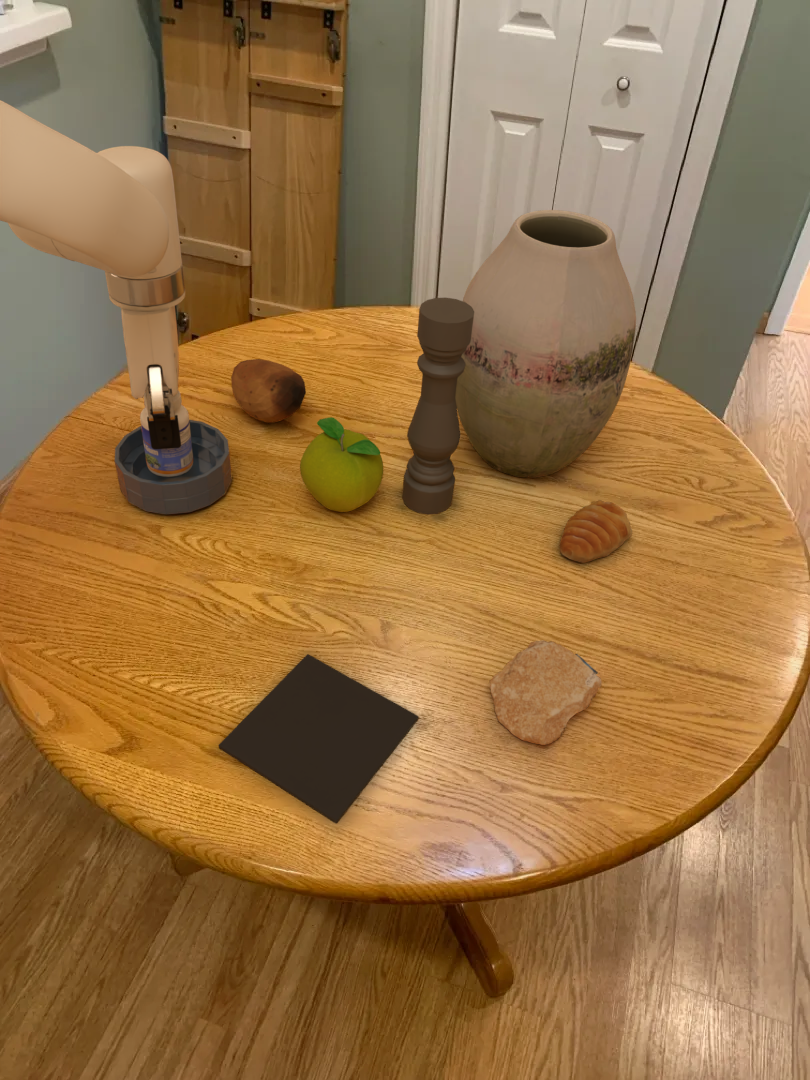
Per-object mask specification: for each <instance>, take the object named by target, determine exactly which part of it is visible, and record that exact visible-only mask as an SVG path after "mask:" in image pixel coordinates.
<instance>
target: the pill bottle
mask: <svg viewBox="0 0 810 1080" xmlns="http://www.w3.org/2000/svg"><path fill="white" fill-rule="evenodd" d="M149 390H150V391H151V388H150V389H149ZM163 391H168V387H167V386H164V387H163ZM143 401H144V404H143V405H144V407H143V408H142V410H141V412H140V414H139V420H140V422H139V423H140V426H141V429H142V436H143V442H144V449H145V456H146V462H147V466H148V469H149V470H150V471H151V472H152V473H154V474H156V475H158V476H163V477H174V476H179V475H182V474H184V473H186V472H188V471H189V470H190V469H191V467H192V465H193V453H192V443H191V433H190V422H189V420H190V414H189V411H188V408H186V407H185V406H184V405H183V404H182V403H183V400H182V396H181V392H180V390H179V389H178V393H177V395H176V396H174V397H173V402H174V411H175V415H178V423H179V431H180V439H181V447H179V448H169V449H153V448H152V447H151V441H150V434H149V427H148V421H147V417H148V408H147V400H146V392H145V394H144V397H143ZM164 402H165V405H168V398H164ZM168 408H169V405H168Z"/></svg>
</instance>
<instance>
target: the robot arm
mask: <svg viewBox="0 0 810 1080" xmlns="http://www.w3.org/2000/svg"><path fill="white" fill-rule="evenodd" d="M175 191H176V190H175V182H174V174H173V168H172V165H171V163H170V161H169V160H168V158H167V157H166V156H165V155H164V154H163V153H161V152H159V151H157V150H155V149H153V148H148V147H143V146H137V145H121V146H114V147H109V148H105V149H103V150H100V151H98V152H96V151H94V150H92V149H91V148H89V147H87V146H85V145H83V144H81V143H80V142H79V141H76V140H74V139H72V138H70V137H68V136H67V135H65V134H63V133H61V132H59V131H57V130H55V129H53V128H51V127H49V126H47V125H46V124H44V123H42V122H40V121H39V120H37V119H35V118H33V117H31V116H29V115H28V114H26V113H25V112H23V111H21V110H19V109H18V108H16V107H14V106H13V105H11V104H9V103H7V102H5V101H3V100H1V99H0V222H4V223H7V224H8V227H9V228H10V229H11V231H12V233H13V234H14V235H15V236H16V237H17V238H18V239H19V240H20V241H21V242H23V243H24V244H26V245H27V246H29V247H31V248H32V249H35V250H37V251H40V252H43V253H45V254H49V255H51V256H55V257H59V258H62V259H65V260H68V261H71V262H76V263H80V264H83V265H86V266H88V267H92V268H96V269H99V270H102V271H104V274H105V281H106V286H107V292H108V297H109V301H110V302H111V303H112V305H114V306H116V307H118V308H120V314H121V315H120V316H121V324H122V334H123V342H124V346H125V347H124V348H125V356H126V363H127V364H126V365H127V371H128V379H129V385H130V395H131V397H132V398H133V399H135V400H138V399H144V394H145V392H146V400H147V408H148V417H147V421H148V427H149V434H150V441H151V447H152V448H153V449H169V448H179V447H181V439H180V431H179V423H178V415H175V411H174V402H173V397H174V396H176V395H177V393H178V390H179V377H180V376H179V375H180V374H179V373H180V371H179V370H180V369H179V367H180V366H179V365H180V364H179V363H180V358H179V357H180V355H179V354H180V352H179V335H178V325H177V324H178V323H177V315H176V314H177V313H176V306H177V305H179V304H180V303H182V302H183V300H184V299H185V298H186V287H185V278H184V276H185V275H184V268H183V259H182V251H181V250H182V249H181V241H180V240H181V239H180V229H179V220H178V210H177V200H176V192H175ZM164 386H167V387H168V391H163V387H164ZM150 388H151V391H150V390H149V389H150ZM164 398H168V405H169V408H168V405H165V402H164Z"/></svg>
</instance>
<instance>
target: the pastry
mask: <svg viewBox="0 0 810 1080" xmlns="http://www.w3.org/2000/svg"><path fill="white" fill-rule="evenodd" d="M632 535H633V529H632V527H631V521H630V520H629V518H628V514H627V513H626V511H625V509H623V508H621V506H619V505H618V504H616V503H614V502H612V501H606V500H605V501H604V500H603V499H602V500H601V499H598V500H594V501H591V503H590V504H588V505H586V506H584V507H582V508H579V509H578V510H576V511H575V512H574V514H573V515H572V516H571V517H570V518H569V519H568V520H567V522H566V524H565V526H564V528H563V531H562V535H561V538H560V540H559V551H560V554H561V555H562V556H564V557H566V558H568V559H569V560H572V561H574V562H578V563H585V564H586V563H589V562H593V561H595V560H596V559H603V558H606V557H608V556H609V555H610V554H612V553H613V552H615V551H616V550H617V549H619V547H621V546H622V545H623V544H624V543H625V541H627V540H628V539H630V537H632Z"/></svg>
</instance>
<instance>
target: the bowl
mask: <svg viewBox="0 0 810 1080" xmlns="http://www.w3.org/2000/svg"><path fill="white" fill-rule="evenodd" d="M189 422H190V433H191V443H192V453H193V465H192V467H191V469H190V470H189V471H188V472H186V473H184V474H182V475H179V476H174V477H163V476H158V475H156V474H154V473H152V472H151V471H150V470H149V469H148V466H147V462H146V456H145V449H144V442H143V436H142V429H141V425H140V426H138V427H136V428H134V429H132V430H131V431H130V432H128V433H126V434H125V435H123V437H122V438H121V440H120V441H119V442H118V444H117V445H116V446H115V447H114V465H115V471H116V475H117V479H118V484H119V489H120V491H121V493H122V495H123V496H124V498H125V499H126V500H127V501H128V503H130V504H131V505H133V506H135V507H137V508H139V509H141V510H142V511H145V512H148V513H154V514H160V515H161V514H162V515H175V514H176V515H177V514H186V513H192V512H196V511H198V510H201V509H203V508H206V507H209V506H211V505H212V504H214V503H215V502H216V501H218V500H219V499H220V498H222V497H224V496H225V494H226V493H227V491H228V489H229V487H230V485H231V483H233V479H232V468H231V457H230V447H229V439H228V437H226V436H225V435H224V434H223V433H222V431H221V430H220V429H219V428H218V427H215V426H213V425H211V424H208V423H206V422H204V421H201V420H194V419H189Z"/></svg>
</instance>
